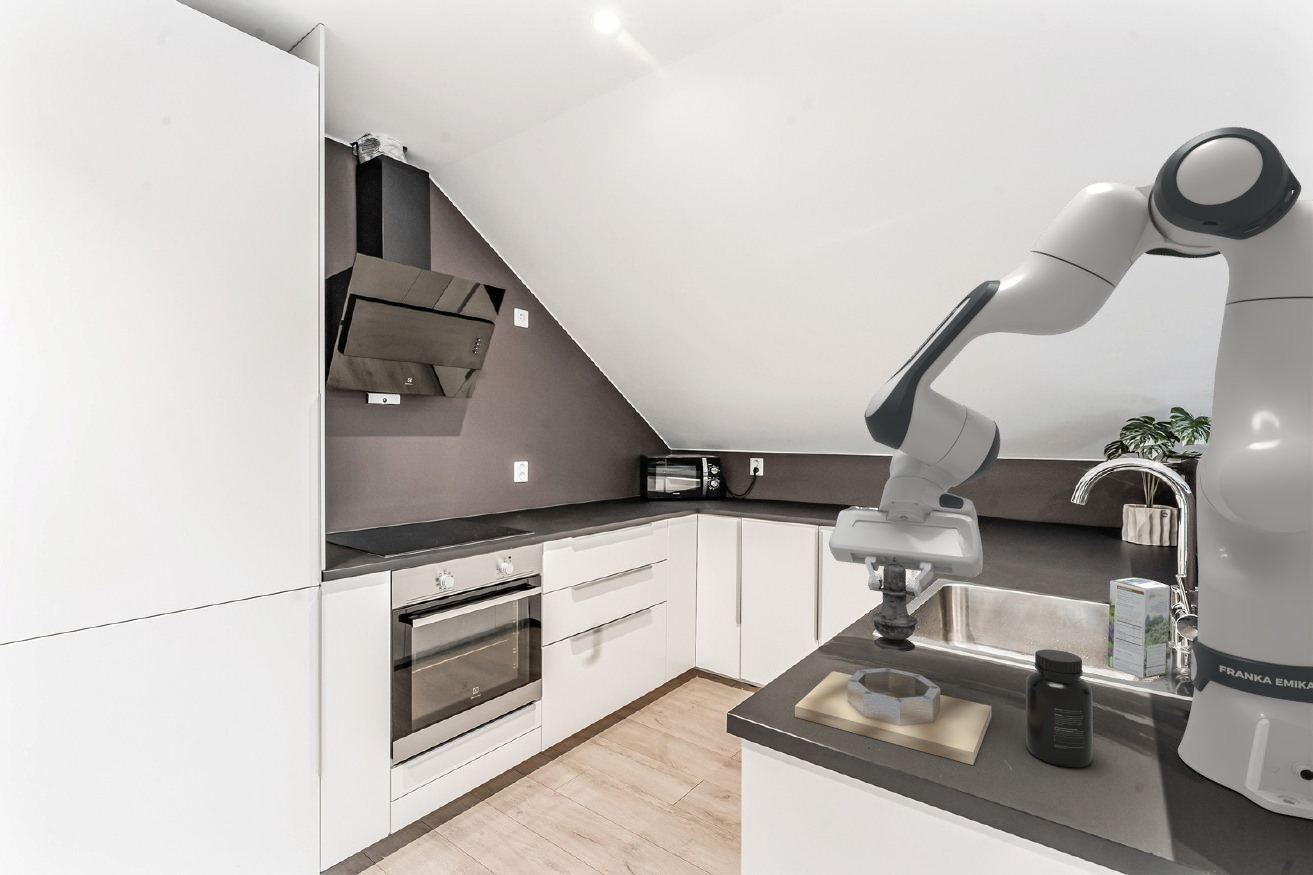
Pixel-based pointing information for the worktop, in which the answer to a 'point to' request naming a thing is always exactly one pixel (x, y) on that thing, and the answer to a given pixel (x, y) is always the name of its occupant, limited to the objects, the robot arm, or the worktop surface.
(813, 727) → the worktop surface
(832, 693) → the carrier plate
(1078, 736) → the supplement bottle
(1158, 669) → the syrup box
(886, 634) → the dark grey turned piece
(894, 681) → the metal collar
